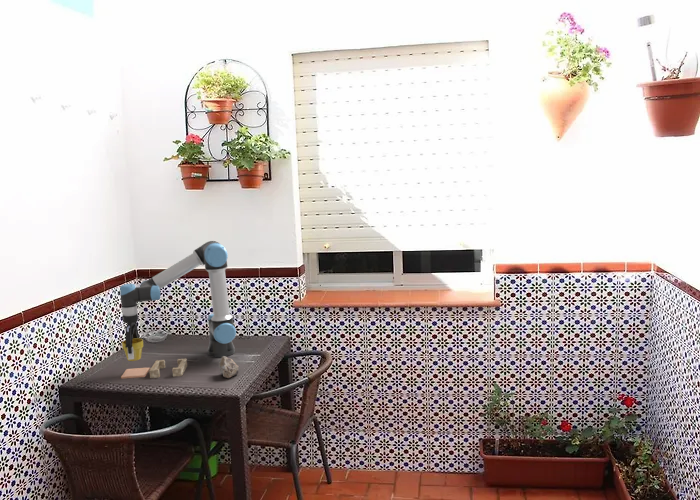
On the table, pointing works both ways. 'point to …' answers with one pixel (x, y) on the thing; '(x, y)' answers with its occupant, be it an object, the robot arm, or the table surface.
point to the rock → (228, 367)
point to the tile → (135, 373)
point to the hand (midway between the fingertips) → (133, 355)
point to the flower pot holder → (161, 364)
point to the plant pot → (134, 348)
